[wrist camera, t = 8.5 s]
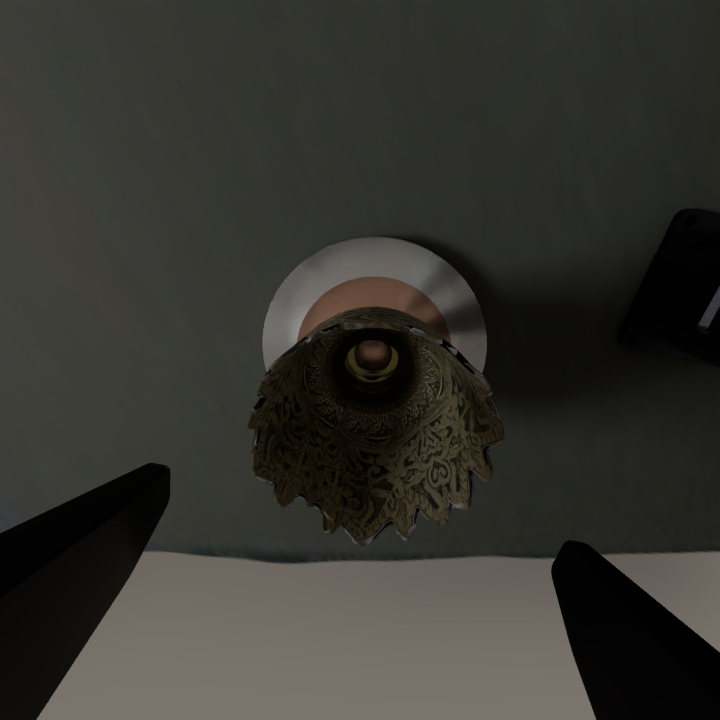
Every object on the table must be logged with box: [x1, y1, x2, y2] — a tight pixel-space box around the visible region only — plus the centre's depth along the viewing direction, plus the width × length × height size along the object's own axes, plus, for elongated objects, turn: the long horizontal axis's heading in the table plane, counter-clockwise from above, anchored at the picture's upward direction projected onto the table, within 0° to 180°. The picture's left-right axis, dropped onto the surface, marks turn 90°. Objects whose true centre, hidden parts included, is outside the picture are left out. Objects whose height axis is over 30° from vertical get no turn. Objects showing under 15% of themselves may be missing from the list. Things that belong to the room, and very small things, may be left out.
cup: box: [246, 307, 505, 546], centre depth 14 cm, size 8×7×8 cm
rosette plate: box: [263, 236, 487, 373], centre depth 19 cm, size 11×11×1 cm
